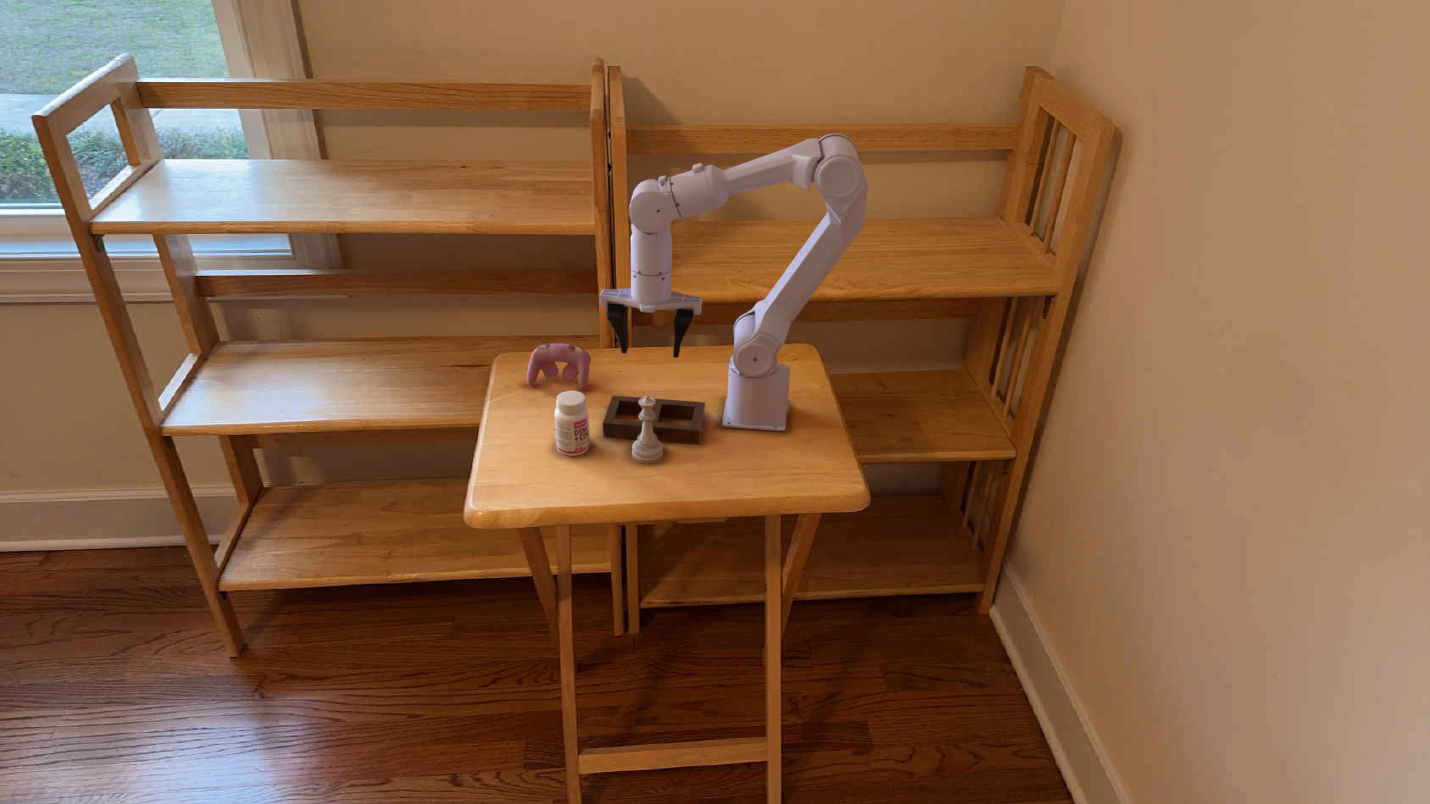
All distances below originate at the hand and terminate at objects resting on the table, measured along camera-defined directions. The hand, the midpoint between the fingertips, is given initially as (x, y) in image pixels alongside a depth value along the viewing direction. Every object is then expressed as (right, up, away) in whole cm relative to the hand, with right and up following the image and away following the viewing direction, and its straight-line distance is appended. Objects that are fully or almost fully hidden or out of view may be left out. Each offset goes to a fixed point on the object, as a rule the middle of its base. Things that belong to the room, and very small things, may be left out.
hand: (650, 352), depth 141 cm
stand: (0, -11, +2) cm, 11 cm away
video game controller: (-15, -4, +13) cm, 20 cm away
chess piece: (0, -15, -4) cm, 16 cm away
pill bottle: (-11, -14, -3) cm, 18 cm away
